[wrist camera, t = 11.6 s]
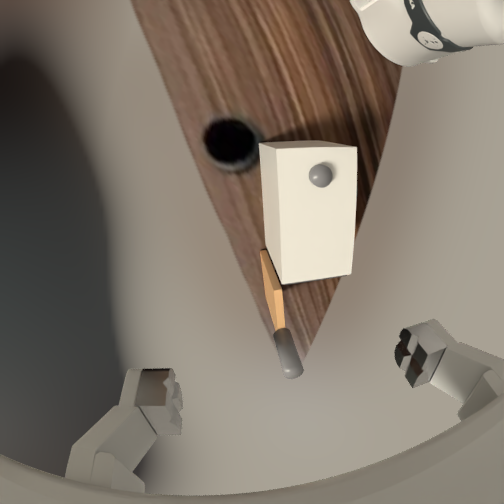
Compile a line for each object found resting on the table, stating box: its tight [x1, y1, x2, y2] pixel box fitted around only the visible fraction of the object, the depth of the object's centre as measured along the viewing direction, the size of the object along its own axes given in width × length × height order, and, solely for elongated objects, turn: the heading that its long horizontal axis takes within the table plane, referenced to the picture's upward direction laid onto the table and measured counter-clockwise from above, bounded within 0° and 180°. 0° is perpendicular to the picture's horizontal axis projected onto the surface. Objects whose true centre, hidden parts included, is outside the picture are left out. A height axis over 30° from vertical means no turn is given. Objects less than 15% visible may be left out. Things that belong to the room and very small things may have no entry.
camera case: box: [259, 140, 357, 285], centre depth 36 cm, size 16×10×13 cm, turn 4°
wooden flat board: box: [260, 250, 304, 379], centre depth 38 cm, size 2×9×19 cm, turn 7°
